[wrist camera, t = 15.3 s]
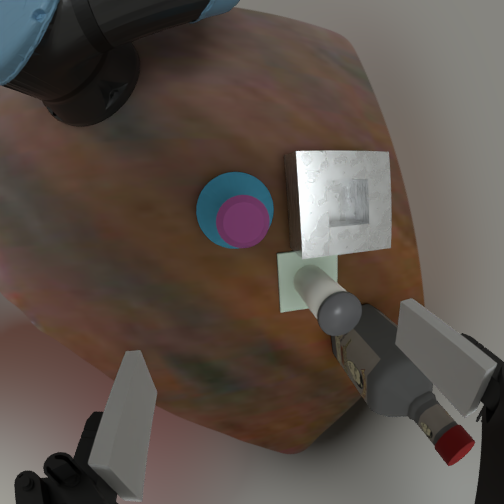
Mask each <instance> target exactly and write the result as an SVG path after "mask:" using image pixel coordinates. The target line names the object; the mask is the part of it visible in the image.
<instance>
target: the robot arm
mask: <svg viewBox="0 0 504 504" xmlns="http://www.w3.org/2000/svg"><path fill="white" fill-rule="evenodd" d="M239 1H240V0H0V85H1V86H4V87H7V88H10V89H13V90H16V91H19V92H22V93H24V94H27V95H30V96H33V97H35V98H38V99H40V100H42V101H43V103H44V105H45V106H46V107H47V109H48V111H49V112H50V113H51V115H52V116H53V117H55V118H56V119H57V120H59V121H61V122H63V123H66V124H69V125H72V126H89V125H93V124H96V123H98V122H101V121H103V120H104V119H106V118H108V117H109V116H111V115H112V114H113V113H115V112H116V111H117V110H118V109H119V108H120V107H121V106H122V105H123V104H124V103H125V102H126V100H127V99H128V98H129V96H130V95H131V93H132V91H133V89H134V87H135V85H136V82H137V80H138V76H139V69H140V63H139V57H138V54H137V52H136V50H135V48H134V46H133V45H132V43H131V42H132V41H134V40H137V39H139V38H142V37H145V36H148V35H150V34H153V33H156V32H159V31H162V30H165V29H168V28H172V27H175V26H178V25H182V24H185V23H190V24H192V23H196V22H198V21H200V20H201V19H204V18H207V17H211V16H215V15H219V14H223V13H226V12H228V11H230V10H231V9H232V8H233V7H234V6H235V5H237V3H238V2H239ZM395 345H396V346H397V347H398V348H399V349H400V350H401V351H402V352H403V353H404V354H405V355H406V356H407V357H408V358H409V359H410V360H411V361H412V362H413V363H414V364H415V365H416V366H417V367H418V368H419V369H420V370H421V372H422V373H423V374H424V375H425V376H426V377H427V378H428V379H429V380H430V381H431V382H432V383H433V384H434V385H435V386H436V387H437V388H438V390H439V391H440V392H441V393H442V394H443V395H444V396H445V397H446V398H447V399H448V400H449V401H450V402H451V404H452V405H453V406H454V407H455V408H456V409H457V410H458V411H459V412H460V414H461V415H462V416H463V417H464V418H466V417H467V416H469V415H470V414H472V413H473V412H474V411H476V409H477V407H478V405H479V403H480V401H481V402H482V403H483V404H484V406H483V408H482V410H481V411H480V413H479V416H478V417H477V420H476V422H478V421H479V419H480V417H481V416H482V420H481V422H482V444H481V459H480V470H479V478H478V486H477V493H476V499H475V504H504V362H503V361H502V360H501V359H499V358H498V357H497V356H496V355H494V354H493V353H492V352H491V351H489V350H488V349H487V348H484V346H483V345H482V344H480V343H478V342H477V341H476V340H475V339H474V338H472V337H471V336H468V335H466V334H463V333H462V334H459V333H458V332H457V331H456V330H454V329H453V328H451V327H450V326H449V325H448V324H446V323H445V322H443V321H442V320H441V319H440V318H438V317H437V316H436V315H434V314H433V313H432V312H430V311H429V310H427V309H426V308H425V307H423V306H422V305H421V304H419V303H418V302H416V301H415V300H414V299H412V298H411V299H407V300H404V301H401V304H400V313H399V321H398V328H397V335H396V342H395ZM156 397H157V390H156V388H155V386H154V383H153V381H152V378H151V376H150V374H149V371H148V369H147V366H146V363H145V361H144V358H143V355H142V353H141V350H137V351H126V353H125V355H124V358H123V360H122V363H121V366H120V368H119V371H118V373H117V376H116V379H115V382H114V384H113V387H112V390H111V393H110V395H109V398H108V401H107V404H106V407H105V410H104V412H93V413H92V415H91V416H90V417H89V418H88V419H87V421H86V424H85V427H84V431H83V432H82V435H81V439H80V441H79V443H78V447H77V449H76V452H75V456H74V458H72V457H71V456H70V455H69V454H67V453H62V452H58V453H55V454H52V455H51V456H49V457H48V458H47V460H46V461H45V463H44V467H43V469H44V473H45V474H46V475H47V476H48V478H40V477H39V476H38V475H37V474H36V473H35V472H32V471H23V472H21V473H20V474H19V475H18V476H17V478H16V479H15V484H14V486H15V498H16V504H118V503H117V502H116V498H117V494H118V495H119V496H120V497H121V498H122V499H123V500H127V501H137V502H142V497H143V487H144V478H145V470H146V462H147V454H148V446H149V440H150V433H151V426H152V420H153V414H154V408H155V402H156Z"/></svg>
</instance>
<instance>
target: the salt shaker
mask: <svg viewBox="0 0 504 504" xmlns="http://www.w3.org/2000/svg"><path fill="white" fill-rule="evenodd" d="M293 284H294V288H295V290H296V291H297V292H298V294H299V295H300V296H301V298H302V299H303V301H304V302H305V303H306V305H307V306H308V307H309V309H310V310H311V312H312V313H313V314H314V316H315V317H316V318H317V320H318V324H319V325H320V327H321V328H322V330H323V331H324V332H325V333H327V334H328V335H331V336H340V335H344V334H346V333H348V332H350V331H351V330H352V329H353V328H354V327H355V326H356V325H357V324H358V322H359V320H360V318H361V314H362V306H361V303H360V301H359V300H358V298H357V297H355V296H354V295H353V294H352V293H350V292H347V291H346V290H345V289H344V288H342V287H341V286H340V285H339V284H338V283H337V282H335V281H334V280H333V279H332V278H331V277H330V276H329V275H327V274H326V273H325V272H324V271H323V270H322V269H320V268H319V267H318V266H315V265H306V266H303V267H302V268H300V269H299V270H298V271H297V272H296V274H295V276H294V280H293Z"/></svg>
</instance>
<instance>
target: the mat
mask: <svg viewBox="0 0 504 504" xmlns="http://www.w3.org/2000/svg"><path fill="white" fill-rule="evenodd" d="M306 265H315V266H318V267H319V268H320V269H322V270H323V271H324V272H325V273H326V274H327V275H329V276H330V277H331V278H332V279H333V280H334V281H335V282H337V255H332V256H324V257H316V258H308V259H302V258H301V257H299V256H298V255H297V254H296V253H295V252H294V251H291V252H282V253H277V267H278V284H279V302H280V312H287V311H294V310H300V309H306V308H309V307H308V306H307V305H306V303H305V302H304V301H303V299H302V298H301V296H300V295H299V294H298V292H297V291H296V290H295V288H294V284H293V280H294V276H295V274H296V272H297V271H298V270H299V269H300V268H302V267H303V266H306Z"/></svg>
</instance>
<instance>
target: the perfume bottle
mask: <svg viewBox="0 0 504 504" xmlns="http://www.w3.org/2000/svg"><path fill="white" fill-rule="evenodd" d="M273 211H274V208H273V201H272V198H271V195H270V193H269V191H268V189H267V188H266V187H265V185H264V184H263V183H262V182H261V181H260V180H258V179H257V178H256V177H253V176H251V175H249V174H246V173H242V172H229V173H225V174H222V175H219V176H217V177H215V178H214V179H212V180H211V181H210V182H209V183H208V184H207V185H206V186H205V187H204V189H203V190H202V191H201V194H200V196H199V198H198V202H197V210H196V214H197V220H198V223H199V226H200V228H201V230H202V231H203V233H204V234H205V235H206V236H207V237H208V238H209V239H210V240H211V241H212V242H214V243H215V244H217V245H220V246H222V247H226V248H235V249H238V248H248V247H251V246H254V245H256V244H257V243H259V242H260V241H261V240H262V239H263V238H264V237H265V235H266V233H267V231H268V229H269V227H270V225H271V222H272V218H273Z"/></svg>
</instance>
